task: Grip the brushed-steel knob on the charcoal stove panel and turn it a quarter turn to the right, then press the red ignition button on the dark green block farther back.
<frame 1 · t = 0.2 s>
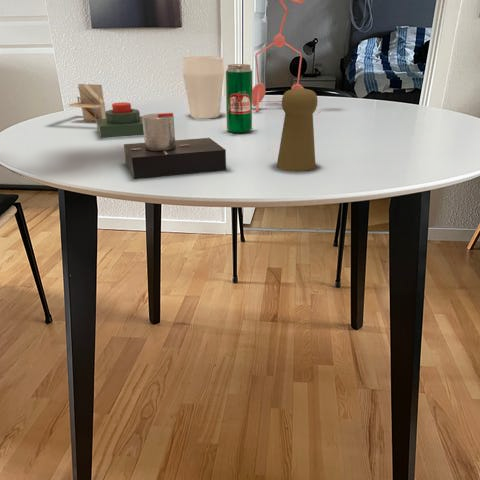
pink branching rod frame: (280, 108, 125), on the table
cup: (205, 117, 115), on the table
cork: (296, 167, 78), on the table
architectural model: (93, 122, 110), on the table
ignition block: (124, 132, 100), on the table
soda can: (239, 132, 100), on the table
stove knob: (159, 131, 74), point 5 cm above the table, hinge at 0.0°
ignition button: (121, 108, 98), point 4 cm above the table, slide at 0.1 cm
stove panel: (174, 166, 78), on the table
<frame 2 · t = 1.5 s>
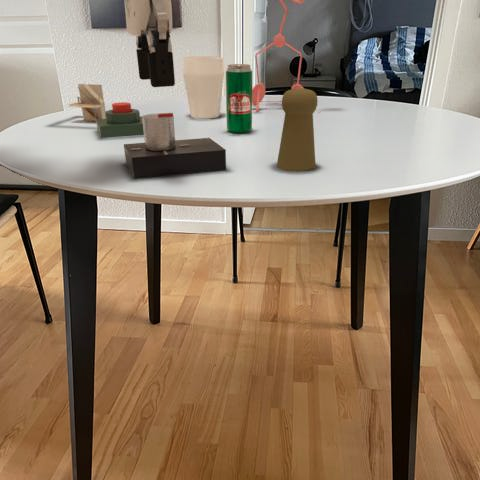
hand: (156, 82, 71), 12 cm above the table, tool pointing down, fingers open, 9 cm apart
nothing on the table moved.
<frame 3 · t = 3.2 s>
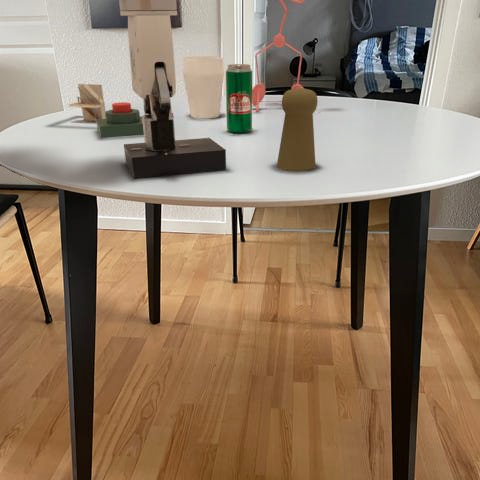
hand: (160, 144, 75), 4 cm above the table, tool pointing down, fingers closed on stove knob, 4 cm apart
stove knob: (159, 131, 74), point 5 cm above the table, hinge at -0.1°, touching gripper
everything else where it was.
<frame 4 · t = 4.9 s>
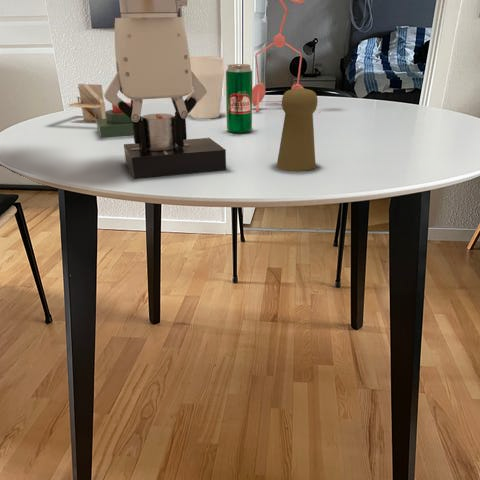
hand: (161, 145, 75), 3 cm above the table, tool pointing down, fingers open, 5 cm apart
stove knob: (159, 131, 74), point 5 cm above the table, hinge at -89.5°
everything else where it was.
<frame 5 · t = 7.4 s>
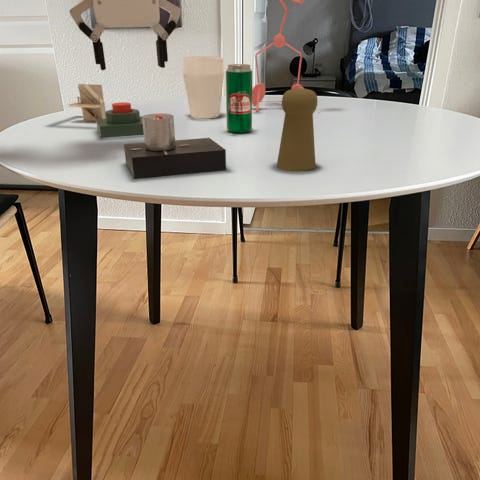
hand: (132, 68, 83), 13 cm above the table, tool pointing down, fingers open, 9 cm apart
nothing on the table moved.
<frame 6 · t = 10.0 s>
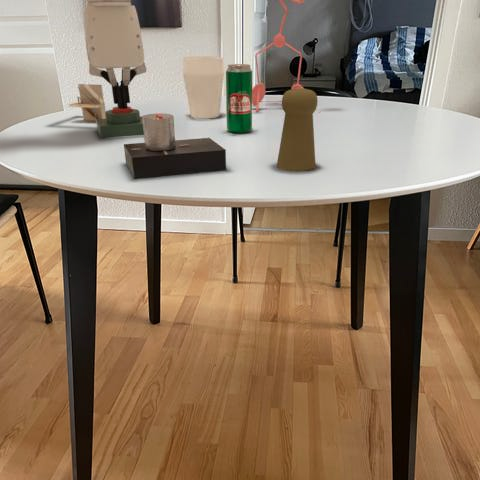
hand: (122, 107, 98), 5 cm above the table, tool pointing down, fingers closed
ignition button: (122, 112, 98), point 4 cm above the table, slide at -0.6 cm, touching gripper
everything else where it was.
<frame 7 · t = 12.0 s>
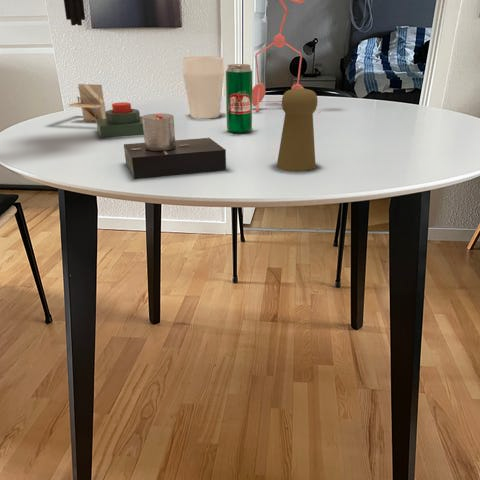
hand: (76, 25, 84), 19 cm above the table, tool pointing down, fingers closed
ignition button: (121, 108, 98), point 4 cm above the table, slide at 0.1 cm
everything else where it was.
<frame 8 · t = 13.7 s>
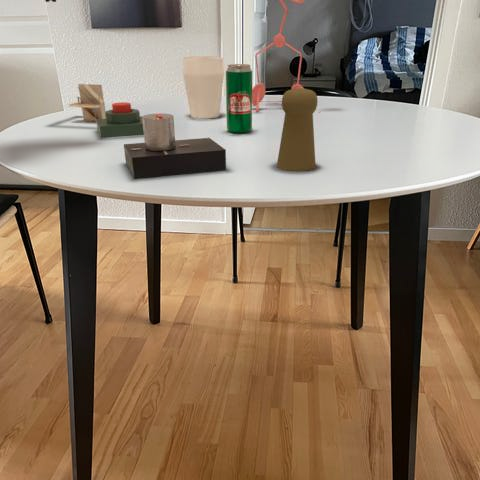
hand: (50, 1, 78), 22 cm above the table, tool pointing down, fingers closed
nothing on the table moved.
at the end: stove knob at -90° (first picture: +0°); ignition button pushed in 1.1 cm at the most during the clip, back to where it started at the end; ignition button slide at 0.1 cm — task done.
